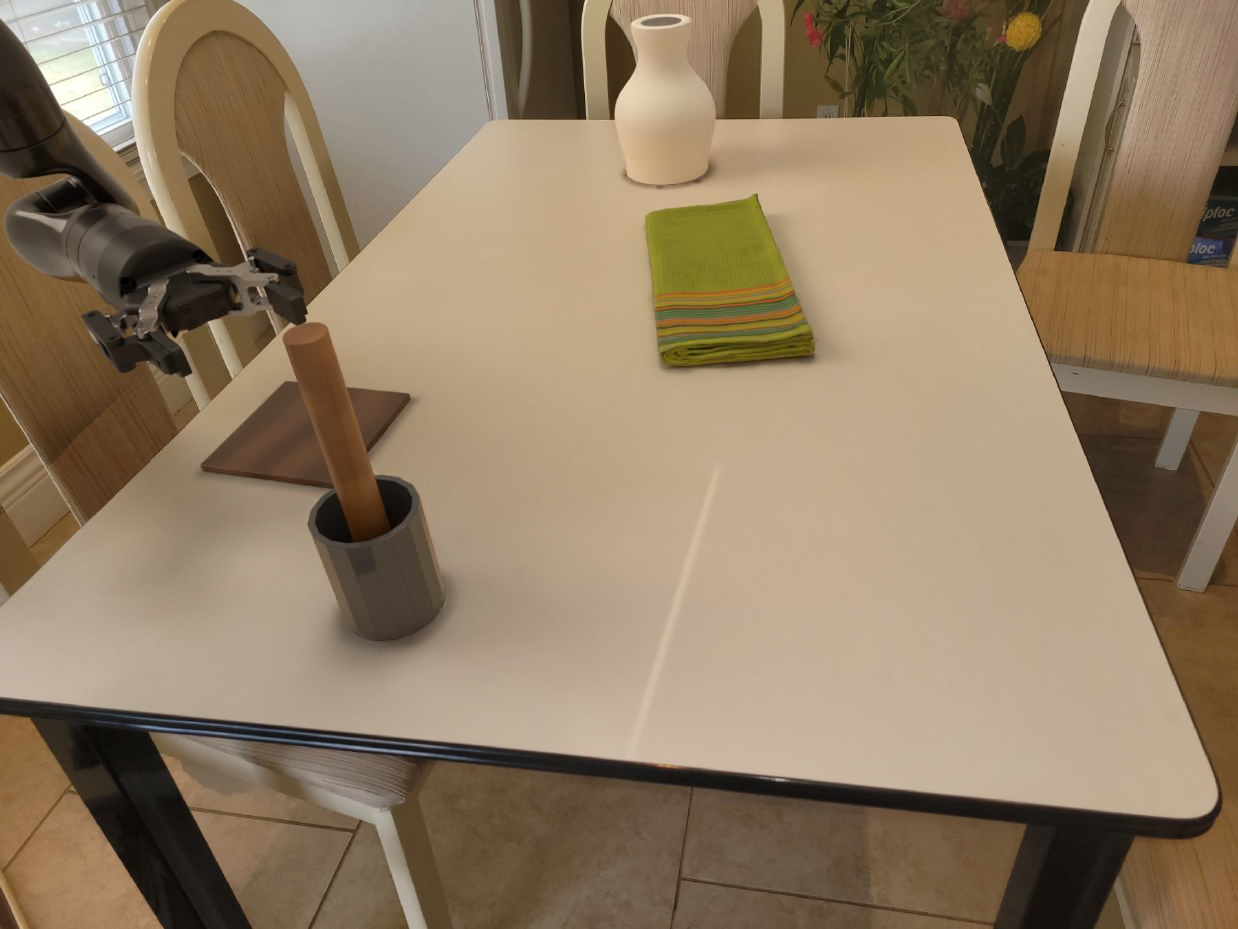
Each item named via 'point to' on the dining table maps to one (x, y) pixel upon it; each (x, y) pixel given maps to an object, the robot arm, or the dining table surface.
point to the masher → (336, 428)
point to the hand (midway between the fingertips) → (243, 336)
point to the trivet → (297, 436)
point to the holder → (381, 564)
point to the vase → (664, 106)
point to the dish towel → (722, 286)
